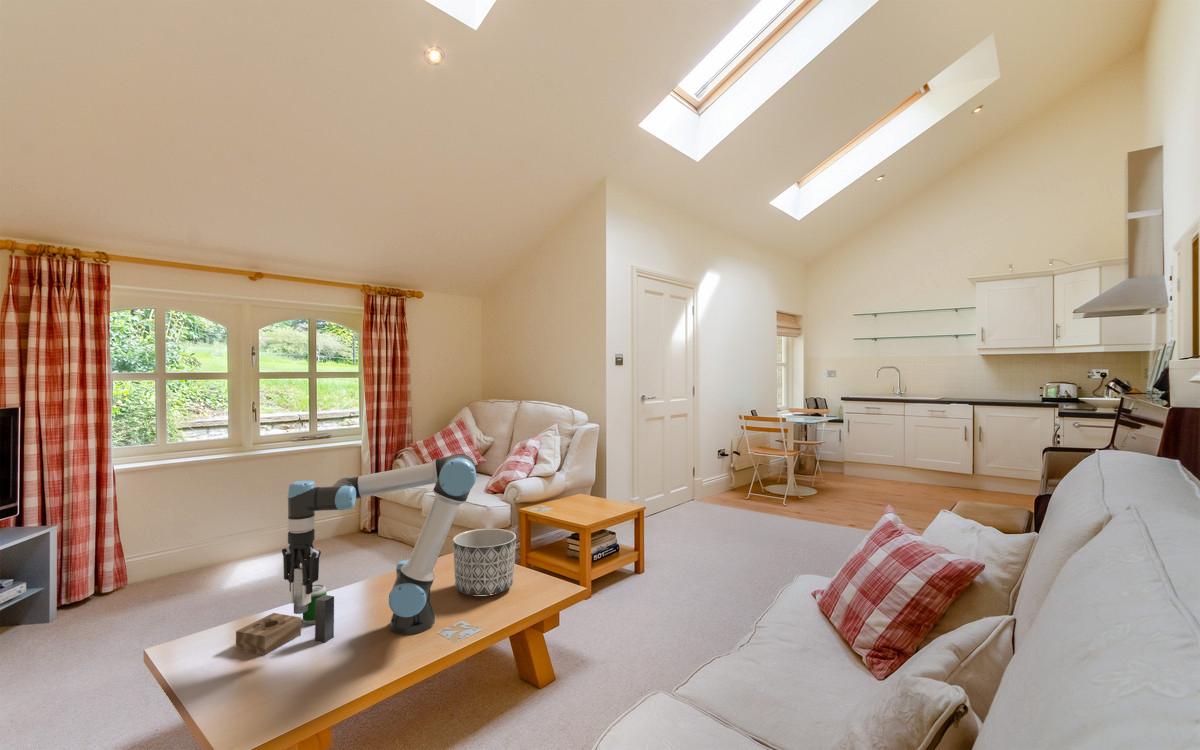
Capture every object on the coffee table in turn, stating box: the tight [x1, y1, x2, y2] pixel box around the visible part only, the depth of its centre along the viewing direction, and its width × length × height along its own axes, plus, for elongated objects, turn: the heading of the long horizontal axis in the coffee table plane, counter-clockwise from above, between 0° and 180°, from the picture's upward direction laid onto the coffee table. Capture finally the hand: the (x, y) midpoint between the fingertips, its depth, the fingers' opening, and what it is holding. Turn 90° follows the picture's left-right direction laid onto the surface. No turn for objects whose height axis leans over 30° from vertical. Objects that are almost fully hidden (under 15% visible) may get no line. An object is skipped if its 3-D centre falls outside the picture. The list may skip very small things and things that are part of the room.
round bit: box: [293, 565, 308, 615], centre depth 170 cm, size 4×4×14 cm
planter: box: [452, 528, 517, 596], centre depth 223 cm, size 26×26×22 cm
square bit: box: [314, 594, 335, 644], centre depth 180 cm, size 4×4×14 cm
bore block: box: [235, 612, 302, 656], centre depth 177 cm, size 12×14×6 cm
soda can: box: [302, 584, 327, 625], centre depth 193 cm, size 8×8×12 cm
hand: (300, 602), depth 170 cm, fingers closed on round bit, 4 cm apart
